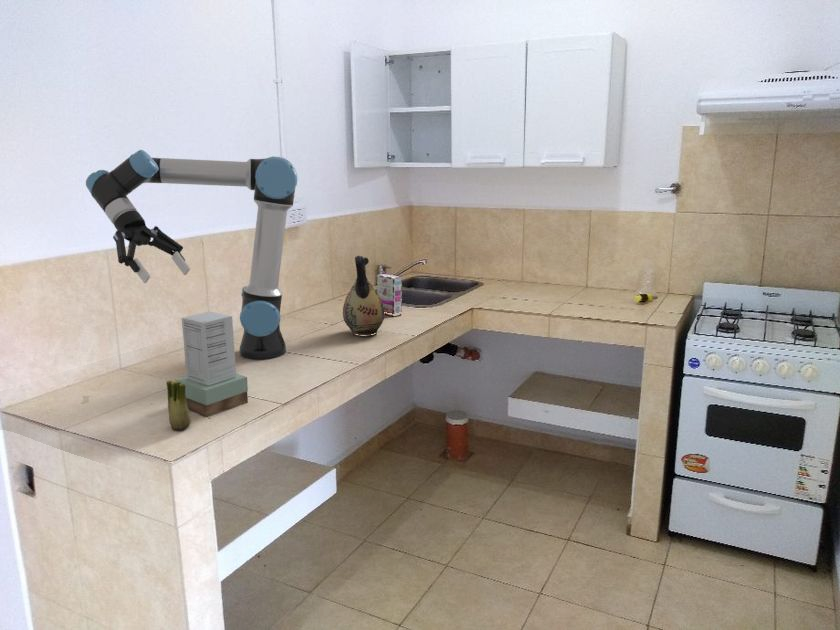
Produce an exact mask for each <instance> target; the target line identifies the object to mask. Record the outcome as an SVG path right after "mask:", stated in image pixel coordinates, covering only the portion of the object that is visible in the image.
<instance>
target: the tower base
mask: <svg viewBox="0 0 840 630" xmlns="http://www.w3.org/2000/svg"><path fill="white" fill-rule="evenodd" d="M248 396H249V395H248V391H247V392H244V393H241V394H238V395H235V396H232V397H229V398H226V399H224V400H221V401H218V402H215V403H212V404H209V405H204V404H202V403H199V402H196V401H194V400H191V399H189V398H186V403H187V407H188V410H189V412H192V413H195V414H197V415H199V416H202V417H204V418H209V417H211V416H214V415H217V414H220V413H222V412H225V411H229V410H231V409H234V408H237V407H240V406H242V405H246V404H248V402H249V399H248Z"/></svg>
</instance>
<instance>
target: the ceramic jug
mask: <svg viewBox="0 0 840 630" xmlns="http://www.w3.org/2000/svg"><path fill="white" fill-rule="evenodd" d="M354 262H355V268H356V269H355V270H356V279H355V281H354V283H353V285H352V286H351V288H350V289H349V292H348V293H347V296H346V297H345V299H344V301H343V305H342V317H343V321H344V322H345V323H344V324H345V325H346V326H347V327H348V328H349V329H350V331H351V332H352V334H353V333H354V334H358V335H371V334H374V333H376V332H377V331H378V330H379V328H380V327H382V324H383V323H384V319H385V314H384V307H383V304H382V301H381V298H380V297H379V295H378V293H377V289H375V287H373V285H372V284H371V282H370V281H369V280H368V277H367V273H366V272H367V270H366V266H367V265H368V264H369V262H370V261H369V258H368V257H363V256H362V255H356V256H355V257H354Z"/></svg>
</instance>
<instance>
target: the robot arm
mask: <svg viewBox="0 0 840 630" xmlns="http://www.w3.org/2000/svg"><path fill="white" fill-rule="evenodd" d="M142 184H173V185H174V184H176V185H194V186H195V185H198V186H199V185H202V186H218V187H219V186H221V187H222V186H224V187H245V188H247V189H249V191H253V192H254V193H253V202H254V203H255V204H256V205H257V213H256V222H255V233H254V240H253V249H252V258H251V267H250V268H251V269H250V277H249V284H248V285H246V286H243V287H242V289H241V293H240V294H241V296H242V297H241V299H242V302H241V303H242V304H241V308H240V309H241V310H240V311H241V312H240V314H239V321H240V324H241V326H242V328H243V333H242V334H243V335H242V337H241V342H240V345H239V355H240V356H241V357H243V358H246V359H249V360H250V359H252V360H265V359H267V358H268V359H273V357H274V358H277V356H278V357H280V355H281V356H283V355H284V354H286V353H287V351H286V350H287V345H286V342H285V339H284V338H283V334H282V331H281V329H280V328H281V327H280V326H281V325H280V322H281V307H282V305H281V304H282V298H283V292H282V290H280V289H279V282H280V281H279V280H280V273H281V265H282V256H283V255H282V254H283V249H284V242H285V241H284V239H285V232H286V231H285V230H286V223H287V214H288V211H289V209H291V208H293V206H294V199H295V193H296V188H297V186H298V185H297V184H298V173H297V170H296V168H295V166H294V165H293V164H292V162H290V161H289V160H288V159H286V158H284V157H280V156H270V157H267V158H249V159H248V160H246V161H233V160H232V161H231V160H215V159H214V160H210V159H192V158H191V159H188V158H168V157H167V158H164V157H162V158H160V157H152V156H151V155H150V154H149V153H148V152H146V151H145V150H143V149H139V150H137V151H135V152H134V153H132V154H130V156H129V157H127V158H126V159H125V160H124V161H123V162H121V163H120V164H118V166H116V167H115V168H114V169H112V170H111V171H108V170H105V169H99V170H97V171H96V172H92V173H90V174H89V175H88V176H87V178H86V180H85V187H86V188H87V190H88V192H89V193H90V195H91V197H92V198H93V199H94V200H95V201H96V203H97V204H98V206H99V207H100V208H101V210H102V211H103V212H104V213H105V215H106V216H107V218H108V219H109V220H110V222H111V223H112V225H113V226H114V228H115V233H114V234H113V237H112V239H113V240H114V242H115V246H116V254H117V262H118V263H119V264H124V266H125V267H130V269H131V270H132V271H133V272H134V273H136V275H137V276H138V277H139V279H140V280H141V281H142V283H143V284H147V282H148V281H149V280H150V278H151V277H152V276H151V275H150V273H149V272H148V270H147V269H146V268H145V267H144V265H143V264H142V263H141V261H140V260H139V258H138V257H135V254H136V248H137V246H138V247H140V246H147V245H148V246H150V247H154V248H157V249H158V250H160V251H162V252H164V253H165V254H167V255H170V256H171V259H172V261H173V262H174V263H175V265H176V266H177V268H178V269H179V270H180V271H181V273H182V274H183V276H187V275H188V272H190V270H191V268H190V266H189V265H188V263H187V262H186V259H185V258H184V256H183V255H182V253H181V252H182V251H183V249H184V247H183V246H182V245H181V244H179V242H177V241H175V240H174V239H173V238H171V237H170V236H169V235H167V234H166V233H164V232H163V231H162V229H160V228H159V227H158V226H157V225H155V226H154V227H153V228H149V227H147V224H146V221H145V219H144V218H143V217H142V215H141V213H140V212H139V211H138V210H137V208H136V207H135V206H134V204H133V202H132V201H131V200H130V199H129V198H128V195H129V194H131V193H132V192H134V190H136V189H137V188H139V187H140V186H142ZM125 240H126V241H127V242H128V247H127V248H128V249H127V250H126V242H125ZM282 354H283V355H282Z"/></svg>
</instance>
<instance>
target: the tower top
mask: <svg viewBox="0 0 840 630" xmlns="http://www.w3.org/2000/svg"><path fill="white" fill-rule="evenodd" d="M178 381H180V382H181V383H184V384H185V393H186V398H189V399H191V400H194V401H196V402H199V403H202V404H204V405H209V404H212V403H215V402H218V401H221V400H224V399H226V398H229V397H232V396H235V395H238V394H241V393H244V392H247V393H248V391H249V389H248V376H245V375H242V374H240V373H236V377H235V378H231V379H228V380H225V381H222V382H219V383H215V384H212V385H209V386H207V385H204V384H201V383H198V382H195V381H192V380H188V379H187V376H182V377H178V378H175V379H174V382H176V383H177V382H178Z"/></svg>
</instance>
